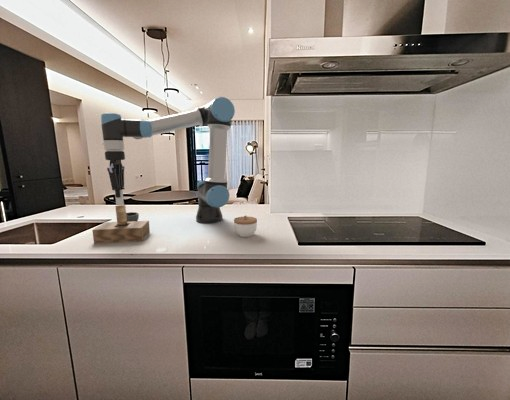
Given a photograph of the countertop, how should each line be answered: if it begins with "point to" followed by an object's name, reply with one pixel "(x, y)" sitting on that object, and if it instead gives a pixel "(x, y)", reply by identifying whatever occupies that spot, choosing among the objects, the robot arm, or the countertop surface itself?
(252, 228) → the lidded jar
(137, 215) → the mortar and pestle
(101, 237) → the socket block
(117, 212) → the dowel
